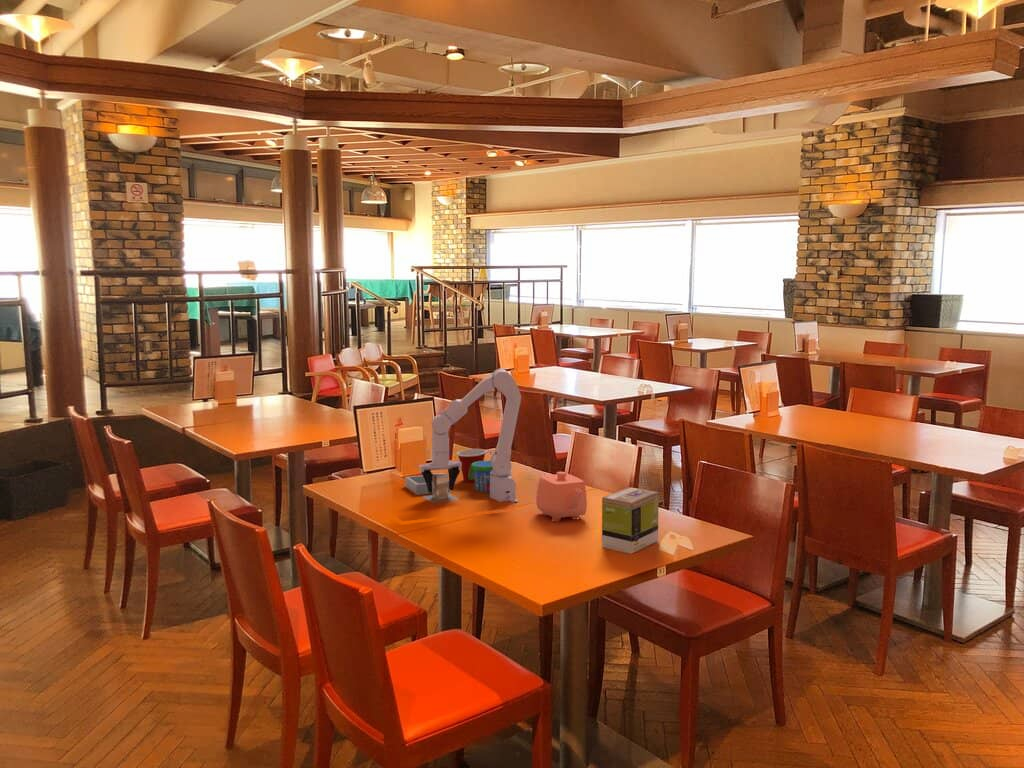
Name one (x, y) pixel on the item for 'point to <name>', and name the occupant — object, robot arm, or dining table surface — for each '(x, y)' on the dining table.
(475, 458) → the plastic cup
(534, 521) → the dining table surface
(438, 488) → the strut
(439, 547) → the dining table surface
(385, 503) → the dining table surface
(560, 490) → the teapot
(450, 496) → the stud block
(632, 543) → the tea box
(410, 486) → the bin
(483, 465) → the snack cup
